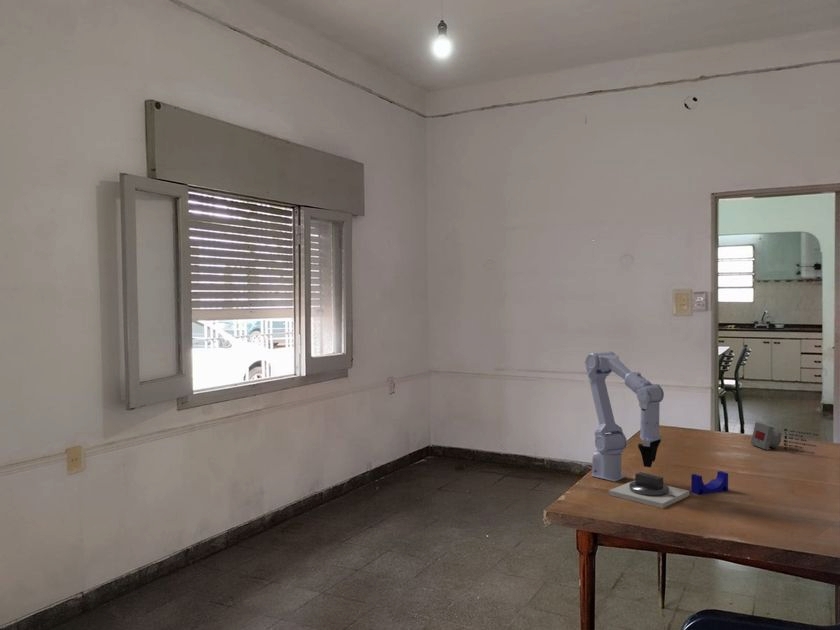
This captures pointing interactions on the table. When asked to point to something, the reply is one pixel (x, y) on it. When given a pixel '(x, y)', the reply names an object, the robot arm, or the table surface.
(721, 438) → the table surface
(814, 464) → the table surface
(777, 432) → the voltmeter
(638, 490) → the dial
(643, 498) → the dial panel
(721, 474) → the blue cradle block
